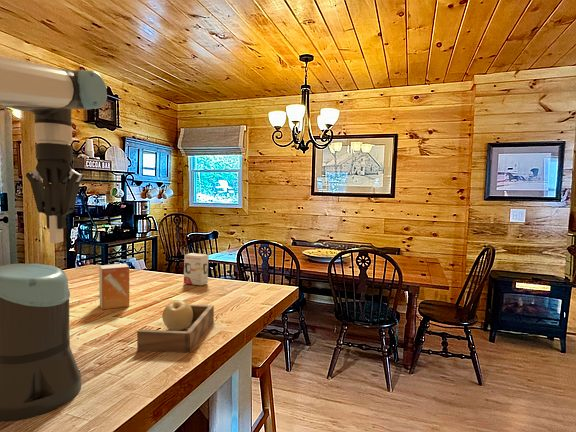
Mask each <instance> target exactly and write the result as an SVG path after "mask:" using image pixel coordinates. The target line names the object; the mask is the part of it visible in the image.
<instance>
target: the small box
mask: <svg viewBox="0 0 576 432" xmlns="http://www.w3.org/2000/svg"><path fill="white" fill-rule="evenodd" d="M98 271H99V273H98V276H99V281H98V282H99V292H98V293H99V306H100V308H101V310H108V309H109V310H110V309H117V308H123V307H124V308H125V307H130V266H129V265H128V263H126V262H125V263H113V264H104V265H99V267H98Z"/></svg>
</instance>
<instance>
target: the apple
mask: <svg viewBox="0 0 576 432" xmlns="http://www.w3.org/2000/svg"><path fill="white" fill-rule="evenodd" d="M190 305H191V304H189V303H188V302H186V301H185V300H181V299H180V300H174V301H171V302H170V303H168V304H167V305H166V306H165V307H164V309H163V310H162V314H161V315H162V317H161V318H162V321H163V324H164V326H165V328H167V329H168V330H169V331H184V330H185V329H187V328H188V327H189V326H190V325H191V324H192V322H191V321H192V319H193V310H192V308H191V306H190Z"/></svg>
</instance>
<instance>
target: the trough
mask: <svg viewBox="0 0 576 432" xmlns="http://www.w3.org/2000/svg"><path fill="white" fill-rule="evenodd" d="M189 305H190V306H191V308H192V310H193V319H192V321H191V323H193V324H191V326H190V327H189V328H188V329H187V330H180V331H172V330H165V329H164V330H160V329H138V330H137V331H136V336H137V338H136V339H137V340H136V342H137V347H136V348H137V351H144V352H145V351H147V352H166V353H167V352H170V353H172V352H173V353H191V352H192V350H193V349H194V347H196V345H197V344H198V342H199V341H200V340H201V339H202V337H203V336H204V335H205V333H206V332H207V330H208V329H209V327H210V326H211V325H212V324H213V322H214V319H215V317H214V315H215V314H214V313H215V312H214V311H215V310H214V309H215V307H214V305H212V304H209V305H208V304H189Z"/></svg>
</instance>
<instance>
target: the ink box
mask: <svg viewBox="0 0 576 432" xmlns="http://www.w3.org/2000/svg"><path fill="white" fill-rule="evenodd" d="M183 257H184V260H183V261H184V263H183V265H184V266H183V284H189V285H194V286H196V285H197V286H203V285H206V284H208V283H209V281H208V280H209V278H208V277H209V254H206V253H205V254H204V253H198V252H197V253H196V252H190V253H186V254H184V256H183Z"/></svg>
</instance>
